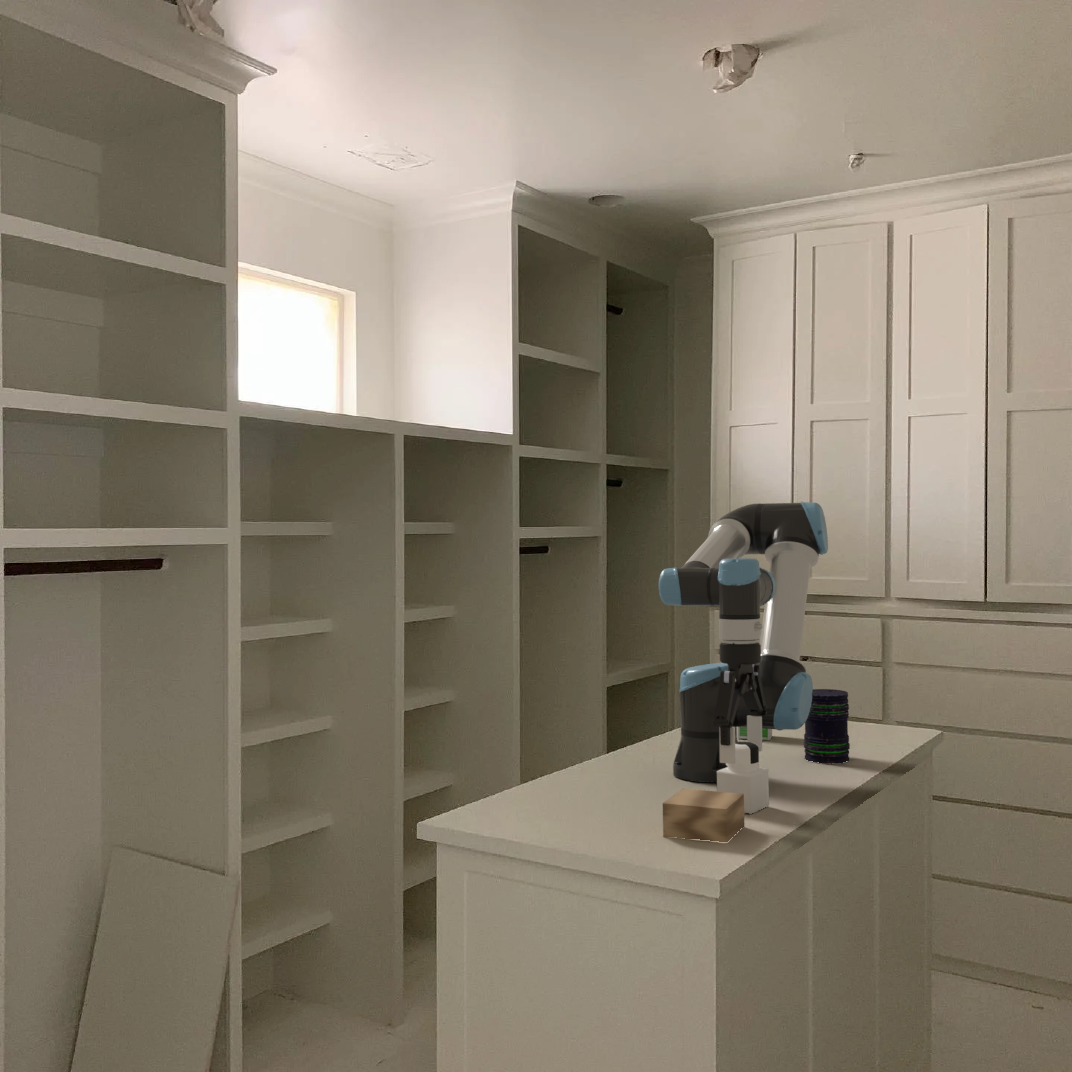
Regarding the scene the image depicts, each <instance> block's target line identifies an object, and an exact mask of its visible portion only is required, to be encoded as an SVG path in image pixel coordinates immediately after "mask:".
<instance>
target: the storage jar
mask: <svg viewBox="0 0 1072 1072" xmlns="http://www.w3.org/2000/svg"><path fill="white" fill-rule="evenodd" d="M848 697H849V692H848V691H845V690H841V689H829V688H818V689H817V688H815V689H814V688H813V691H812V703H811V708H810V712H809V715H808V718H807V720H806V722H805V723H804V734H803V738H804V739H803V740H804V742H803V748H804V754H805V755H804V760H805V759H806V760H808V761H807V762H809V761H813V762H819V763H818V764H820V763H831V764H830V765H833V764H832V763H841V764H844V763H843V762H846V761H848V762H850V756H849V755H850V751H849V750H850V745H851V744H850V736H849V729H848V728H849V727H848V725H849V724H848V723H849V722H848V720H849V715H850V714H849V710H850V706H849V698H848ZM806 760H805V761H806ZM813 762H812V763H813ZM846 763H847V762H846Z"/></svg>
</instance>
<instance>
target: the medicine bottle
mask: <svg viewBox="0 0 1072 1072" xmlns="http://www.w3.org/2000/svg"><path fill="white" fill-rule="evenodd" d="M759 754H760V751H759V747H758V746H757V745H756V744H754V743H751V742H747V741H738V742H735V761H736V763H735V764H728V763H726V765H727V766H728V767H726V768H724V769H721V770H718V771H717V782H716V791H717V792H728V793H740V794H744V814H745V813H749V814H748V815H753V814H755V813H757V812H759V811H758V810H760V811H762V810H764V809H766V808H769V806H770V790H769V788H770V787H769V780H770V779H769V768H766V767H760V766H759V765H760V756H759ZM765 807H766V808H765ZM763 808H764V809H763ZM761 809H762V810H761ZM752 813H753V814H752Z"/></svg>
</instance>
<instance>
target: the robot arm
mask: <svg viewBox="0 0 1072 1072" xmlns="http://www.w3.org/2000/svg"><path fill="white" fill-rule="evenodd" d="M826 522H827V521H826V517H825V513H824V509H823V508H822V506H821V504H819V503H817V502H808V501H807V502H804V501H799V502H780V503H778V502H777V503H776V502H775V503H774V502H773V503H767V502H766V503H760V502H759V503H750V504H745V505H743V506H741V507H737V508H735V509H733V510H731V511H730V512H728V513H726V514H725V515H723V516H721V517H720V518H719V519H718V520H717V521H716V522H714V523H713V524H712V526H711V527H710V528H709V532H708V535H707V538H706V539H705V541H704V542H703V543H702V544H701V545H700V546H699V547H698V548H697V549H696V550H695V552H694V553H693V554H692V555H691V556H690V557H689V558H688V560H687V561H686V562H685V563H684V564H683V565H682V566H681V567H677V566H676V567H675V566H674V567H669V568H664V569H663V570H662V571H661V572H660V574H659V578H658V592H659V593H658V594H659V597H660V598H659V599H660V600H661V602H662V603H663V604H664V605H666V606H677V607H719V608H718V610H719V611H718V615H719V616H718V617H719V618H718V639H719V640H720V641H722V642H720V643H719V661H720V662H717V663H715V662H714V663H708V664H707V663H706V664H699V665H695V666H690V667H687V668H685V669H684V670H683V671H682V672H681V673H680V677H679V678H680V679H679V681H680V682H679V683H680V684H679V685H680V686H679V690H678V691H679V702H680V703H679V704H680V705H679V707H680V740H679V744H678V746H677V751H676V753H675V758H674V760H673V762H672V767H673V769H672V770H673V776H674V777H676V778H678V779H680V780H685V781H689V782H698V783H717V771H718V770H721V769H724V768H726V767H728V766H727V765H726V763H728V764H735V763H736V761H735V742H739V741H738V738H737V727H747V739H746V740H747V741H746V742H751V743H754V744H756V745H757V746H758V747H759V752H763V740H762V728H763V729H772V730H777V731H785V730H789V731H791V730H794V731H795V730H799V729H800V728H802V727H803V726H805V722H806V720H807V718H808V715H809V712H810V708H811V703H812V691H813V689H814V687H813V679H812V676H811V674H809V673H808V672H807V669H806V666H805V665H804V663H802V661H800V658H801V650H802V642H803V634H804V633H803V632H804V623H805V617H806V608H807V605H806V604H807V597H808V590H809V582H810V581H809V580H810V574H811V573H810V572H811V569H812V568H814V567H815V566H816V565H817V564H818V562H819V556H820V555H825V554H828V550H829V543H828V542H829V540H828V539H829V538H828V529H827V523H826ZM745 555H764V557H765V559H766V561H767V562H768V563H769V564H770V565H769V571H768V570H767V569H764V568H762V567H760V562H759V560H758V559H757V558H751V557H749V558H747V557H746V558H745V557H744V558H742V557H743V556H745ZM762 606H764V608H763V610H764V611H763V614H762V623H761V607H762ZM758 641H759V642H758Z"/></svg>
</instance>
